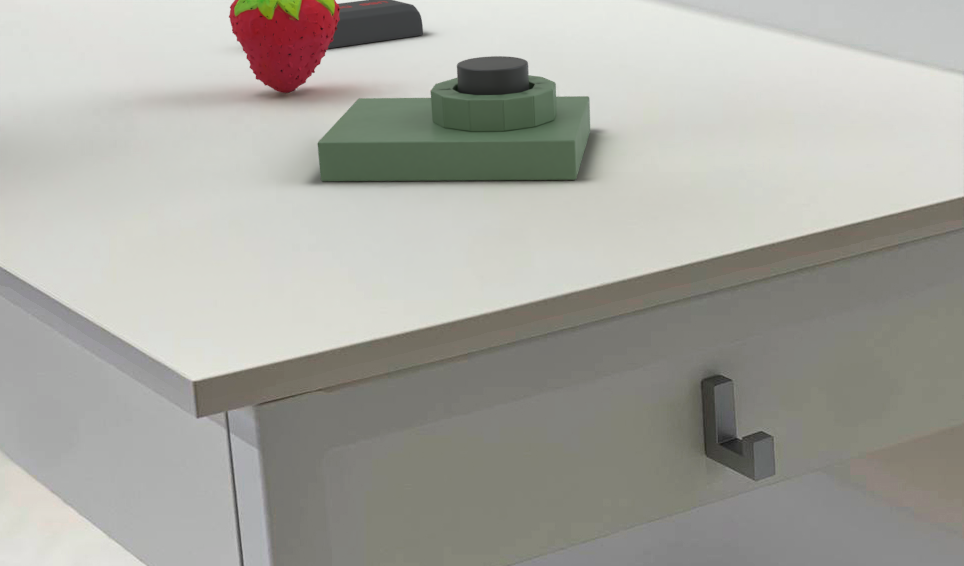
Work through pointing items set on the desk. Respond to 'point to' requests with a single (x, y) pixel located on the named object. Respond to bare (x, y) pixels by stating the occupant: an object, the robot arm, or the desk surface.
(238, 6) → the strawberry
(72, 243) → the desk surface
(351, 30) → the usb drive
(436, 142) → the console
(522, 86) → the button
